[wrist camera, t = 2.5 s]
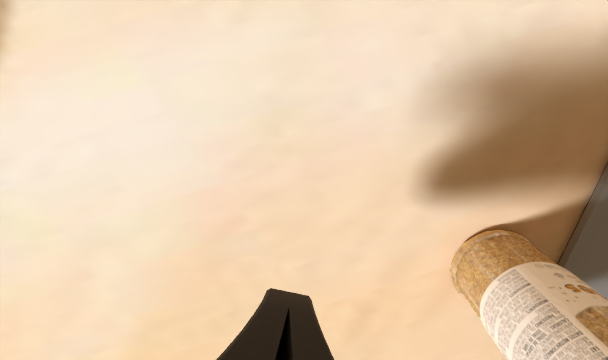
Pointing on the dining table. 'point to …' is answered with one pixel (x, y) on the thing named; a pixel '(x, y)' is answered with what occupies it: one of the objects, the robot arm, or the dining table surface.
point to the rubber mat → (591, 242)
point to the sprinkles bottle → (530, 300)
